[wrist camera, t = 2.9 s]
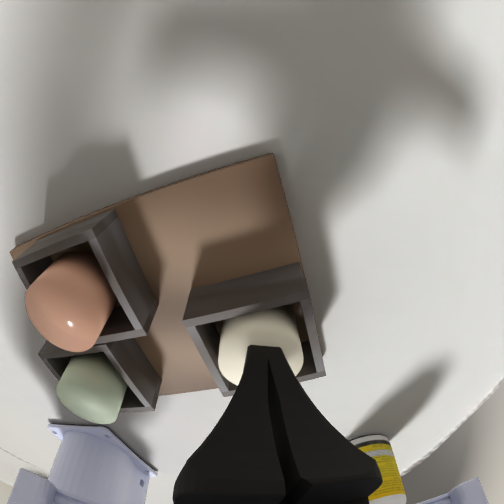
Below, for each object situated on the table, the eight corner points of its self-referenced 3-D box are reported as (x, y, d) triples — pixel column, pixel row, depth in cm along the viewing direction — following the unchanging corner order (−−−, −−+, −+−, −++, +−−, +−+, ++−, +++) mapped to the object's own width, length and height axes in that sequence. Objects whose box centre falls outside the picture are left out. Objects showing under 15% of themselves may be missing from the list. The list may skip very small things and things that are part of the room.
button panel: (321, 358, 18) (331, 396, 15) (108, 393, 19) (96, 425, 16) (272, 153, 13) (280, 165, 10) (15, 247, 14) (-15, 272, 11)
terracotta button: (130, 310, 14) (112, 347, 11) (75, 322, 14) (54, 355, 12) (95, 241, 12) (67, 270, 10) (41, 261, 12) (12, 290, 10)
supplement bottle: (339, 437, 22) (360, 538, 13) (396, 428, 22) (426, 519, 13) (326, 463, 24) (340, 550, 16) (377, 456, 25) (398, 536, 16)
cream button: (301, 342, 16) (309, 379, 13) (234, 358, 16) (233, 395, 14) (286, 286, 14) (294, 321, 12) (211, 305, 14) (205, 342, 12)
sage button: (140, 388, 16) (129, 424, 14) (94, 392, 16) (81, 423, 14) (108, 344, 15) (91, 379, 12) (62, 351, 15) (44, 382, 13)
